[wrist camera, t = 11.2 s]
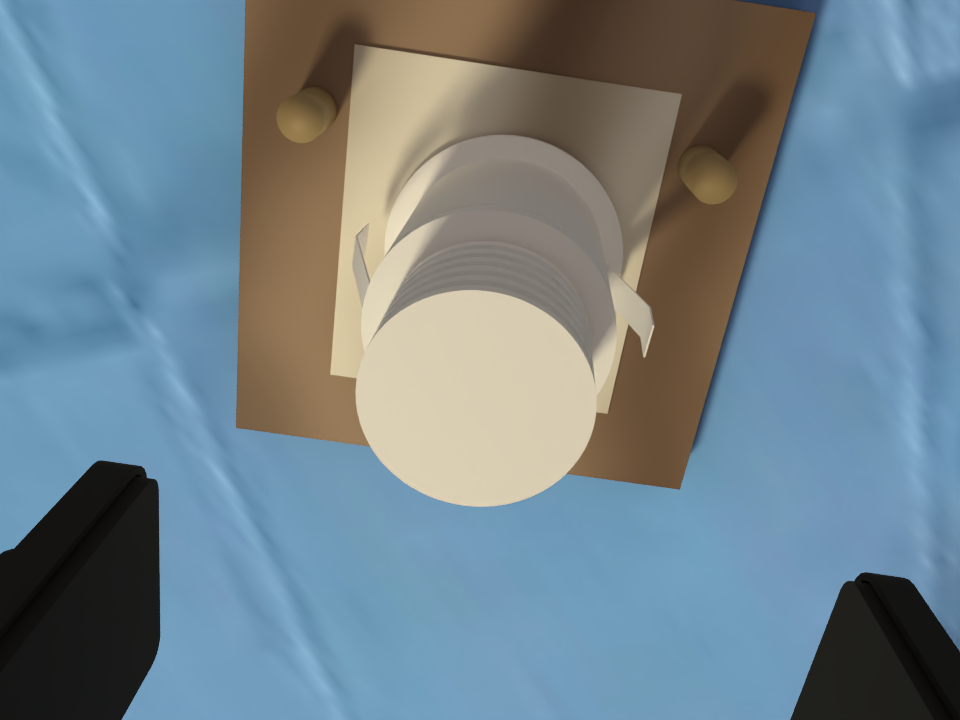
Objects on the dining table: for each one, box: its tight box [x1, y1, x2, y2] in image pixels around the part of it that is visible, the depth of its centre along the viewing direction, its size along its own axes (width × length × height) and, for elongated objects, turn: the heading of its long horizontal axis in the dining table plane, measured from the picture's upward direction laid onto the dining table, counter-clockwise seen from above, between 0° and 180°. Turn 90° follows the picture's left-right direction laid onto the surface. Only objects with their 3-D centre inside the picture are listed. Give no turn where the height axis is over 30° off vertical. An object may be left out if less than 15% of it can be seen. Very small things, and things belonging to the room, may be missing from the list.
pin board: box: [236, 0, 816, 489], centre depth 24 cm, size 15×15×3 cm
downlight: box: [352, 135, 654, 507], centre depth 20 cm, size 8×7×10 cm
